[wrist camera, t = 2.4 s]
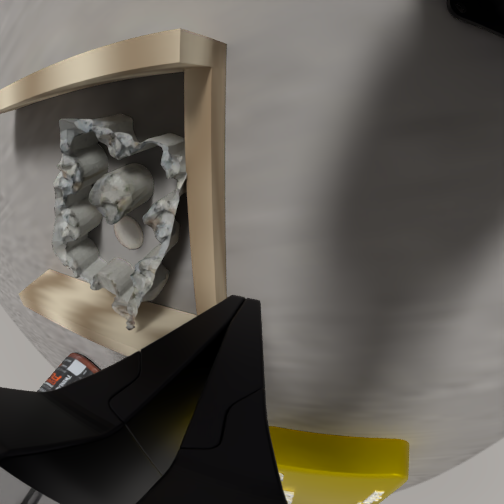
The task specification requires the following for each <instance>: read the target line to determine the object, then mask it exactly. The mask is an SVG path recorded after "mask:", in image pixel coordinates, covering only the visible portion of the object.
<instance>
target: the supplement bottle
mask: <svg viewBox="0 0 504 504" xmlns="http://www.w3.org/2000/svg"><path fill="white" fill-rule="evenodd" d="M98 371H100V370H99V368H98V367H96V366H95V365H94V364H93V363H92V362H91V361H90V360H89V359H87V358H86V357H84V356H82V355H80V354H77V353H71V354H70V355H69V356H68V357H66V358H65V360H64V361H63V362H62V363H61V364H60V366H59V367H58V368H57V369H56V370H55V371H54V372H53V374H52V375H51V376H50V377H49V378H48V380H47V381H46V382H45V383H44V384H43V385H42V386H41V387H40V389H39V390H38V391H37V392H45V391H51V390H55V389H58V388H61V387H63V386H66V385H68V384H70V383H73V382H75V381H78V380H80V379H82V378H85V377H87V376H89V375H92V374H94V373H96V372H98Z"/></svg>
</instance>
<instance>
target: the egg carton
mask: <svg viewBox="0 0 504 504" xmlns="http://www.w3.org/2000/svg"><path fill="white" fill-rule="evenodd" d="M59 127H60V149H61V152H62V158H61V162H60V163H59V164H58V165H57V168H58V169H59V170H60V173H59V175H58V177H57V178H56V180H55V181H54V183H53V185H54V189H55V207H54V210H55V216H56V218H55V225H54V231H53V238H52V247H53V251H54V253H55V255H56V256H57V257H58V259H59V260H60V261H61V262H62V264H63V265H64V266H66V267H67V268H69V269H71V270H72V271H73V273H74V275H75V278H78V277H81V278H83V279H85V280H86V281H88V282H89V283H90V289H92V290H94V291H95V290H100V289H101V288H105V289H107V290H108V291H110V292H111V293H113V294H115V295H116V297H115V298H114V302H113V303H112V308H113V309H114V311H115V312H116V313H118V314H119V315H121V316H122V317H125V318H126V319H127V322H126V324H127V326H126V328H127V329H128V330H132V329H133V328H135V326H134V325H135V322H134V319H135V317H136V315H137V312H138V308H139V306H140V304H141V302H145V301H152V300H153V299H154V298H155V297H157V296H158V294H159V293H160V292H161V290H162V288H163V287H164V285H165V284H166V282H167V281H168V277H169V271H168V270H167V269H166V268H165V267H164V266H163V264H162V263H161V261H162V259H163V257H164V256H165V255H166V254H167V252H168V251H169V250H170V249H171V248H172V247H173V246H174V245H175V244H176V243H177V242H178V240H179V228H180V224H179V223H178V222H177V221H176V220H175V219H174V218H175V214H176V209H177V206H178V203H179V196H181V195H182V194H184V193H186V191H187V184H186V176H187V173H186V161H185V138H183V137H181V136H178V135H175V134H173V133H168V134H164V135H161V136H157V137H153V138H149V139H147V140H145V141H143V142H141V143H140V142H139V141H138V140H137V138H136V136H135V134H134V131H133V119H132V118H131V117H129V116H126V115H123V114H116V115H112V116H107V117H103V118H97V119H93V120H91V119H60V120H59ZM98 141H100V142H101V143H103V144H105V145H107V146H108V150H109V153H110V155H111V156H112V157H114V158H116V159H117V160H120V159H122V158H124V157H126V156H131V155H133V154H135V153H138V152H141V151H144V150H147V149H150V148H152V147H155V146H158V145H159V146H160V147H162V149H163V155H162V159H161V166H162V167H163V169H164V170H165V172H166V176H167V178H168V179H169V178H175V179H177V182H178V183H177V188H176V190H175V191H173V192H172V193H170V194H169V195H167V196H165V197H164V198H162V199H160V200H159V201H157V202H155V203H154V204H153V205H152V206H151V208H150V209H149V211H148V212H147V213H146V214H145V215H144V216H143V223H144V224H145V225H149V226H150V227H151V228H152V229H153V230H154V234H155V237H156V238H157V240H158V241H159V242H160V243H161V244H159V245H158V246H157V247H156V248H154V249H153V250H152V251H151V252H150V253H149V254H148V255H147V256H146V257H145V258H144V259H143V260H141V261H139V262H138V263H137V264H136V265H135V270H134V269H133V267H132V266H131V265H130V264H129V263H128V262H127V261H126V260H124V259H121V258H114V259H113V260H112V261H110V262H109V263H107V262H106V261H104V260H103V259H102V258H101V257H100V255H99V251H98V249H97V246H96V245H95V243H94V242H93V241H92V240H91V239H90V238H89V237H88V232H89V231H91V230H92V229H94V228H95V227H97V226H98V225H99V224H100V223H101V221H102V215H103V216H104V217H105V218H106V222H107V223H108V224H110V225H112V224H115V225H114V231H115V235H116V237H117V239H118V240H119V242H120V243H121V244H122V245H123V246H125V247H127V248H129V249H138V248H139V247H141V245H142V243H143V232H142V229H141V227H140V225H139V224H138V223H137V221H136V220H135V219H133V218H132V217H130V216H125V215H126V214H128V213H129V212H131V211H132V210H134V209H135V208H137V207H138V206H140V205H141V204H143V203H144V202H146V201H147V200H148V199H149V198H150V197H151V196H152V194H153V190H154V181H153V178H152V175H151V173H150V172H149V170H148V169H147V168H146V167H145V166H143V165H142V164H139V163H132V164H128V165H126V166H123V167H121V168H119V169H116V170H114V171H112V172H109V173H107V171H108V158H107V155H106V153H105V151H104V150H103V148H102V147H101V146H100V145H99V144H98ZM93 183H95V184H94V186H93V188H92V189H91V186H92V184H93Z"/></svg>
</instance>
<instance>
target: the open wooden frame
mask: <svg viewBox="0 0 504 504" xmlns="http://www.w3.org/2000/svg"><path fill="white" fill-rule="evenodd" d="M226 45H227V44H225V43H222V42H220V41H217V40H214V39H211V38H208V37H206V36H203V35H200V34H197V33H193V32H190V31H187V30H184V29H181V28H180V29H174V30H169V31H163V32H158V33H153V34H149V35H144V36H140V37H136V38H132V39H128V40H124V41H120V42H117V43H113V44H110V45H106V46H103V47H100V48H97V49H93V50H90V51H87V52H85V53H82V54H79V55H76V56H73V57H71V58H68V59H65V60H63V61H60V62H58V63H55V64H53V65H51V66H48V67H46V68H44V69H41V70H39V71H37V72H35V73H33V74H30V75H28V76H26V77H24V78H22V79H20V80H18V81H16V82H14V83H12V84H10V85H8V86H7V87H5V88H3V89H1V90H0V114H1V113H5V112H8V111H12V110H16V109H19V108H21V107H24V106H27V105H30V104H33V103H36V102H39V101H42V100H45V99H48V98H51V97H55V96H58V95H62V94H65V93H69V92H72V91H76V90H80V89H84V88H88V87H93V86H97V85H101V84H106V83H111V82H116V81H121V80H127V79H133V78H139V77H145V76H152V75H160V74H168V73H177V72H184V127H185V161H186V173H187V176H186V184H187V203H188V219H189V233H190V246H191V258H192V269H193V280H194V290H195V299H196V309H197V315H194V314H190V313H187V312H183V311H179V310H176V309H172V308H168V307H165V306H161V305H158V304H154V303H151V302H147V301H145V302H141V304H140V306H139V308H138V312H137V315H136V317H135V319H134V322H135V325H134V326H135V328H133V329H132V330H128V329H127V328H126V326H127V324H126V322H127V319H126V318H125V317H122V316H121V315H119V314H118V313H116V312H115V311H114V309H113V308H112V303H113V302H114V298H115V297H116V295H115V294H113V293H111V292H110V291H108V290H107V289H105V288H101V289H100V290H95V291H94V290H92V289H90V283H87V282H84V281H81V280H78V279H76V278H73V277H70V276H67V275H64V274H61V273H59V272H56V271H53V270H50V269H49V270H47V271H46V272H45V273H44V274H42V275H41V276H40V277H39V278H37V279H36V280H35V281H34V282H32V283H31V284H30V285H29V286H28V287H26V288H25V289H24V290H23V291H21V292H20V293H19V296H20V298H21V300H22V302H23V305H24V306H26V307H28V308H29V309H31V310H33V311H35V312H36V313H38V314H40V315H42V316H44V317H45V318H47V319H49V320H51V321H53V322H55V323H57V324H59V325H60V326H62V327H64V328H66V329H68V330H70V331H72V332H74V333H76V334H78V335H81V336H83V337H85V338H87V339H89V340H91V341H93V342H95V343H98V344H100V345H102V346H104V347H107V348H109V349H111V350H113V351H116V352H118V353H120V354H123V355H125V356H130V355H132V354H133V353H135V352H137V351H141V349H142V348H144V347H146V346H147V345H149V344H151V343H152V342H154V341H156V340H158V339H159V338H161V337H163V336H164V335H166V334H168V333H169V332H171V331H173V330H174V329H176V328H178V327H180V326H181V325H183V324H185V323H186V322H188V321H190V320H191V319H193V318H195V317H196V316H198V315H200V314H201V313H203V312H205V311H206V310H208V309H210V308H211V307H213V306H214V305H216V304H218V303H219V302H221V301H223V300H224V299H226V298H227V294H226V250H225V86H226Z"/></svg>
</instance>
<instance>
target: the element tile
mask: <svg viewBox="0 0 504 504" xmlns="http://www.w3.org/2000/svg"><path fill="white" fill-rule="evenodd" d="M269 431H270V436H271V441H272V445H273V449H274V454H275V458H276V462H277V467H278V471H279V475H280V479H281V483H282V487H283V490H284V494H285V497H286V500H287V502H288V504H379V503H380V502H381V501H383V500H384V499H385V498H387V497H388V496H389V495H390V494H392V493H393V492H394V491H395V490H397V489H398V488H399V487H400V486H402V485H403V484H404V483H405V482H406V481H407V480H408V471H409V443H408V442H407V441H405V440H401V439H387V438H364V437H350V436H339V435H329V434H320V433H312V432H305V431H298V430H292V429H286V428H280V427H274V426H269Z"/></svg>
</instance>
